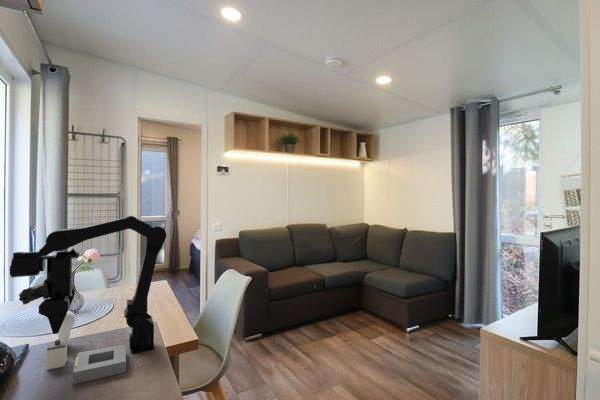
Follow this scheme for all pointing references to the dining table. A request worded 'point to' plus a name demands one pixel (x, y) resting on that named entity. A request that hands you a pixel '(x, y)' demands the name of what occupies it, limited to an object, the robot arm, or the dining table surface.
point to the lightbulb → (67, 326)
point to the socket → (99, 363)
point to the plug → (56, 354)
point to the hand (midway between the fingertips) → (58, 327)
